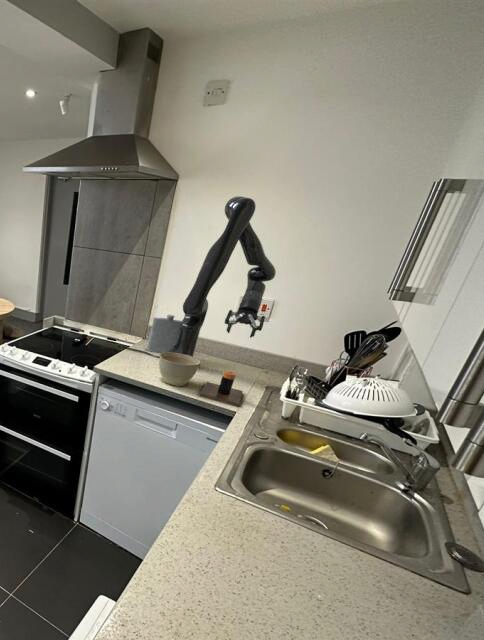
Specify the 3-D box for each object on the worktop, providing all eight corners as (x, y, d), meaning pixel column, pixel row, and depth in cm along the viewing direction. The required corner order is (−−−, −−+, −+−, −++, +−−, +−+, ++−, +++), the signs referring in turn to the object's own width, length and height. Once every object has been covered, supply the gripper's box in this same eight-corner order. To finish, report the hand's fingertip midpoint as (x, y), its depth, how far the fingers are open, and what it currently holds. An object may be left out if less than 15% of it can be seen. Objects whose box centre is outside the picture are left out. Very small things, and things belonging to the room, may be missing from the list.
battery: (217, 392, 159) (223, 371, 155) (218, 389, 162) (225, 368, 159) (228, 395, 157) (235, 374, 153) (230, 392, 160) (236, 371, 156)
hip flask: (176, 353, 208) (186, 316, 200) (178, 355, 205) (187, 318, 197) (146, 348, 211) (154, 312, 203) (147, 351, 207) (155, 314, 199)
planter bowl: (201, 386, 167) (208, 362, 163) (176, 392, 159) (183, 367, 155) (170, 372, 180) (176, 350, 175) (146, 377, 172) (151, 354, 167)
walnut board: (199, 395, 157) (200, 393, 157) (206, 384, 170) (206, 381, 169) (237, 406, 151) (238, 403, 150) (241, 393, 163) (242, 390, 163)
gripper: (233, 295, 169) (222, 325, 165) (271, 301, 162) (260, 333, 158) (231, 305, 175) (220, 335, 171) (267, 312, 169) (256, 343, 164)
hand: (239, 334), depth 165 cm, fingers open, 8 cm apart
